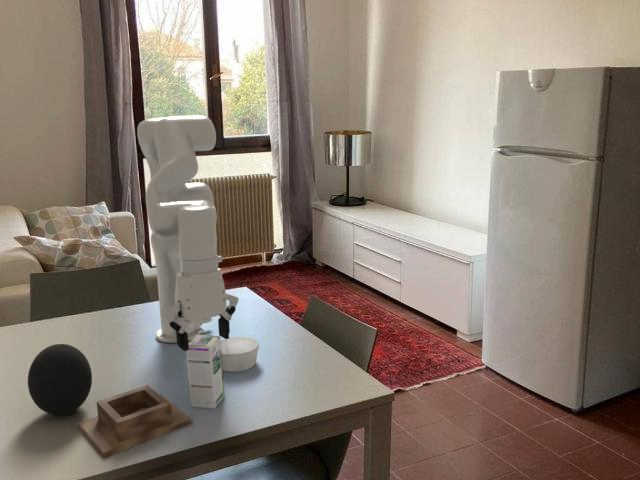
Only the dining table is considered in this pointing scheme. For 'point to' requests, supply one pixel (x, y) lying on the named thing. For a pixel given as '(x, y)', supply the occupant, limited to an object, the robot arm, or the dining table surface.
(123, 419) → the walnut holder
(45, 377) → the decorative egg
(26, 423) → the dining table surface
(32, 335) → the dining table surface
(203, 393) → the syrup box
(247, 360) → the ramekin
